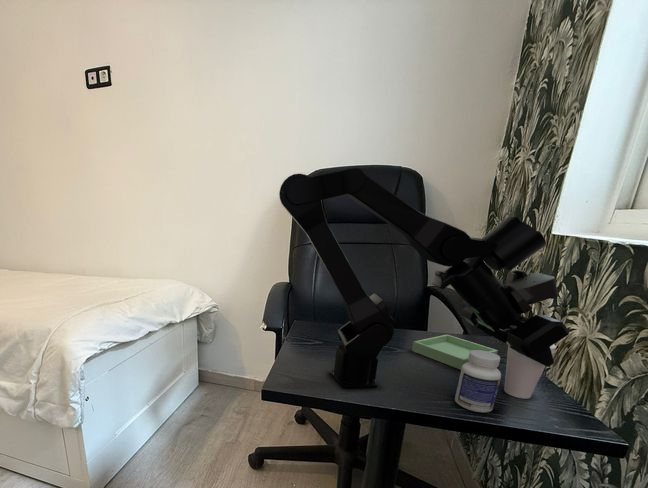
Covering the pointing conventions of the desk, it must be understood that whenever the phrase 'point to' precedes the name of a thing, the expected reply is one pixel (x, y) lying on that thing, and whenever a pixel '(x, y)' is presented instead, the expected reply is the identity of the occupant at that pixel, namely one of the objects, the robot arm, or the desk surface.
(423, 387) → the desk surface
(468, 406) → the pill bottle
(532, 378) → the smoothie
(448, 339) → the tray
